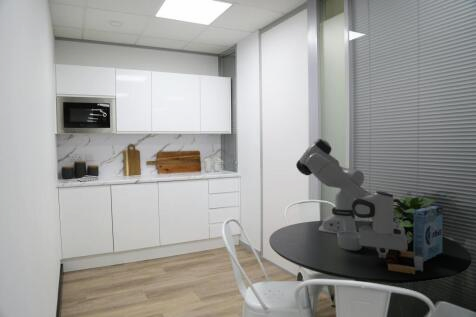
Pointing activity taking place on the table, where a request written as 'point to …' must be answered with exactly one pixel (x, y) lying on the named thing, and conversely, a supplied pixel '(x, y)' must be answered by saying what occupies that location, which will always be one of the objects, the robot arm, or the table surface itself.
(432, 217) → the light blue carton box
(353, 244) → the ramekin
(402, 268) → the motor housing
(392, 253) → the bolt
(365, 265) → the table surface
